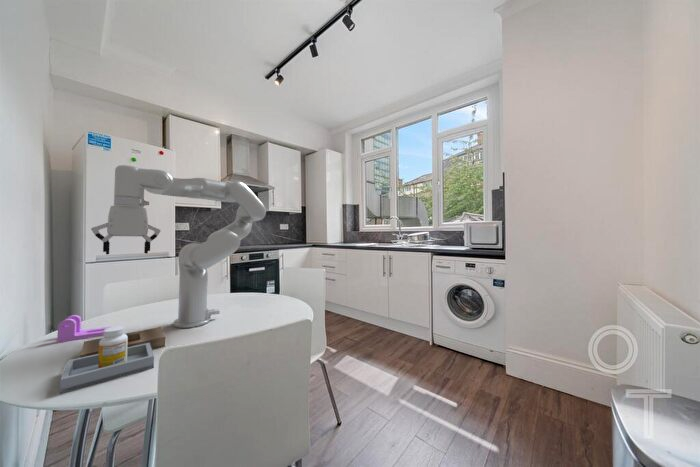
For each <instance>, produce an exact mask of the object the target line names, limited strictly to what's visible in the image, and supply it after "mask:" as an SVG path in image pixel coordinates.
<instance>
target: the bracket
mask: <svg viewBox="0 0 700 467" xmlns="http://www.w3.org/2000/svg"><path fill="white" fill-rule="evenodd" d="M110 327H111V326H106V327H105V326H104V327H98V328H89V329H82V317H81V316H80V315H77V314H73V315H70V316H67V317H66V318H65V319H64V320H62V321H60V322H59V324H58V325H57V340H56V341H57V343H63V342H70V341H77V340H83V339H91V338H97V337H98V338H99V337H104V336H103V331H104V330H105V329H107V328H110Z"/></svg>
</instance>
